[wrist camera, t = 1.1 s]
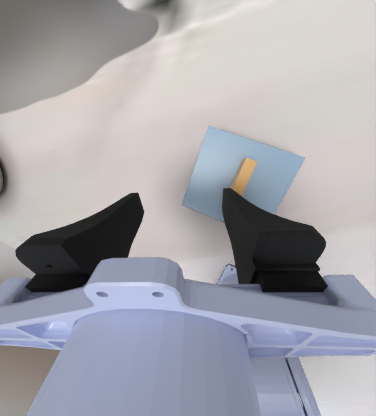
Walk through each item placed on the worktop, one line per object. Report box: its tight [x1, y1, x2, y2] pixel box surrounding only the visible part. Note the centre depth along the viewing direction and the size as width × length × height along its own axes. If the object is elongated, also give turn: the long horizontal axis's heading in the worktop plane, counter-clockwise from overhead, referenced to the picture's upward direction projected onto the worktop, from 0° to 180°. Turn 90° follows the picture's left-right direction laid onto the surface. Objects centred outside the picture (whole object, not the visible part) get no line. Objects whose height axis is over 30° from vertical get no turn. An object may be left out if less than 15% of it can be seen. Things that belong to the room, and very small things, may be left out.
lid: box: [182, 126, 305, 222], centre depth 18 cm, size 12×11×4 cm
